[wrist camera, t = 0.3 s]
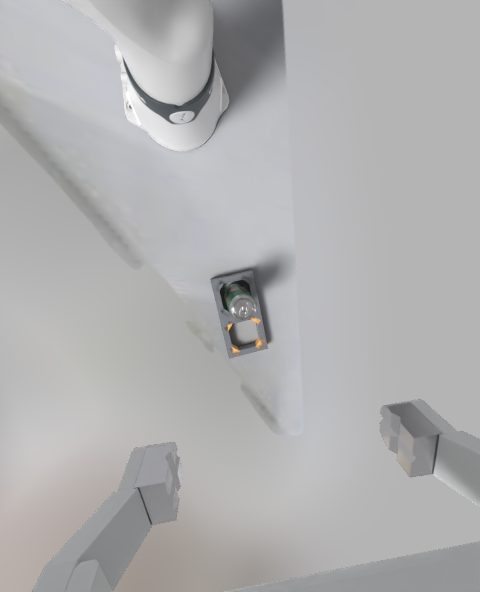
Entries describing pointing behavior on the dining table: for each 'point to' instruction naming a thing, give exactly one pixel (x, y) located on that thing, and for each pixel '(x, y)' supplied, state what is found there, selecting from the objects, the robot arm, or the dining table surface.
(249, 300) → the soda can
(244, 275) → the socket board
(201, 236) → the dining table surface
